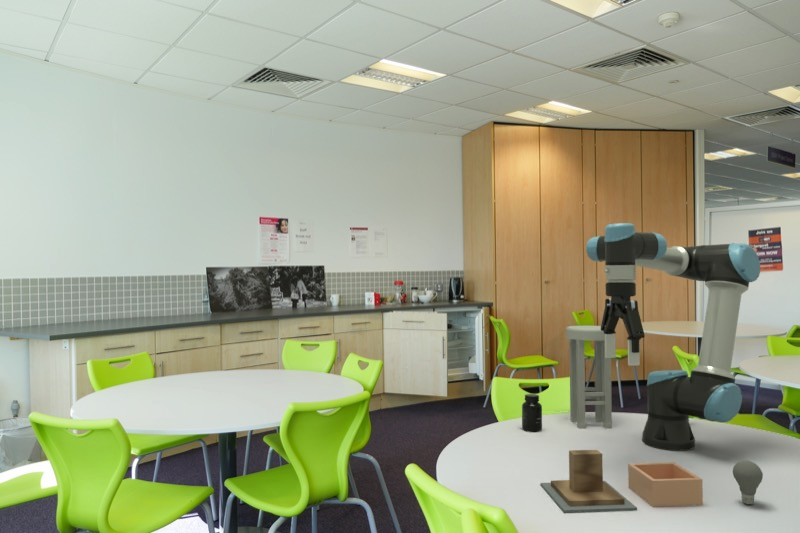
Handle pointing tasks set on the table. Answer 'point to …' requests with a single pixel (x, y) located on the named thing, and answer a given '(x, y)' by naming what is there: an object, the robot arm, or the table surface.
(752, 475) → the light bulb
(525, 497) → the table surface
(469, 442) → the table surface
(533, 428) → the supplement bottle
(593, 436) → the table surface
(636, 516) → the table surface
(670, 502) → the open tan tray
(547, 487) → the mat
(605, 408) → the stool
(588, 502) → the lid
